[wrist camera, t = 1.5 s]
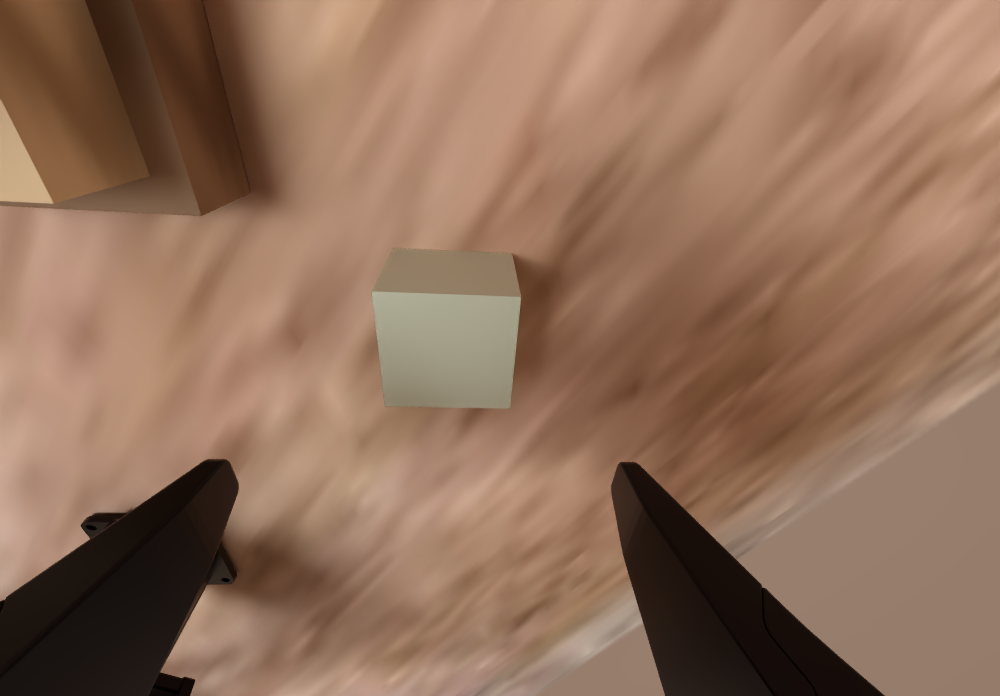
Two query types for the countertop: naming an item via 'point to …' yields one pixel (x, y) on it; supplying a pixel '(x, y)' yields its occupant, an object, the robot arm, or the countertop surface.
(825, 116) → the countertop surface
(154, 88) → the walnut base
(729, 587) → the robot arm
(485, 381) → the cap block
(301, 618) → the countertop surface
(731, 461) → the countertop surface
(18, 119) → the oak middle block
